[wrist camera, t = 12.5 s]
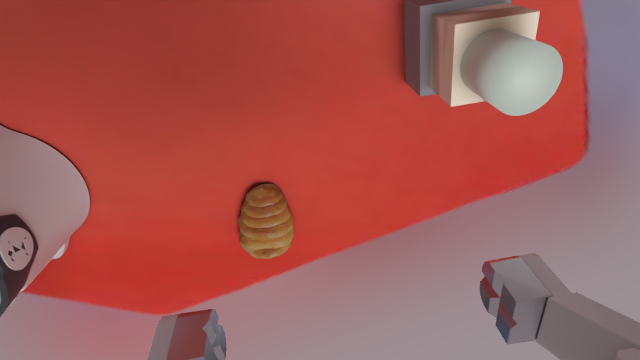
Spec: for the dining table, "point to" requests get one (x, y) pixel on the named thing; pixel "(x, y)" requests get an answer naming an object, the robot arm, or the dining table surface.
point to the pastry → (265, 222)
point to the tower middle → (457, 34)
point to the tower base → (427, 36)
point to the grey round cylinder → (511, 71)
